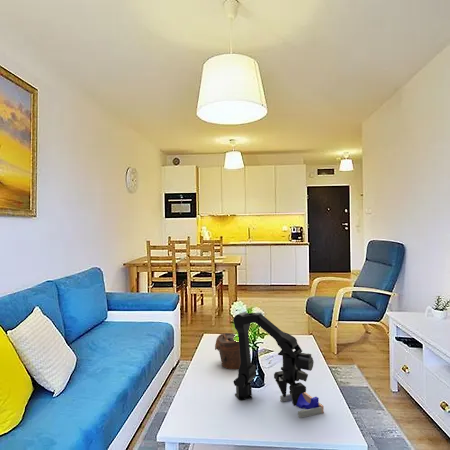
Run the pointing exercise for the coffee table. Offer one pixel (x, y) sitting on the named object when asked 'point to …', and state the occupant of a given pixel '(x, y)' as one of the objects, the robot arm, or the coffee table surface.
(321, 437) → the coffee table surface
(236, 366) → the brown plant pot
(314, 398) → the cable clip
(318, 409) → the frame
